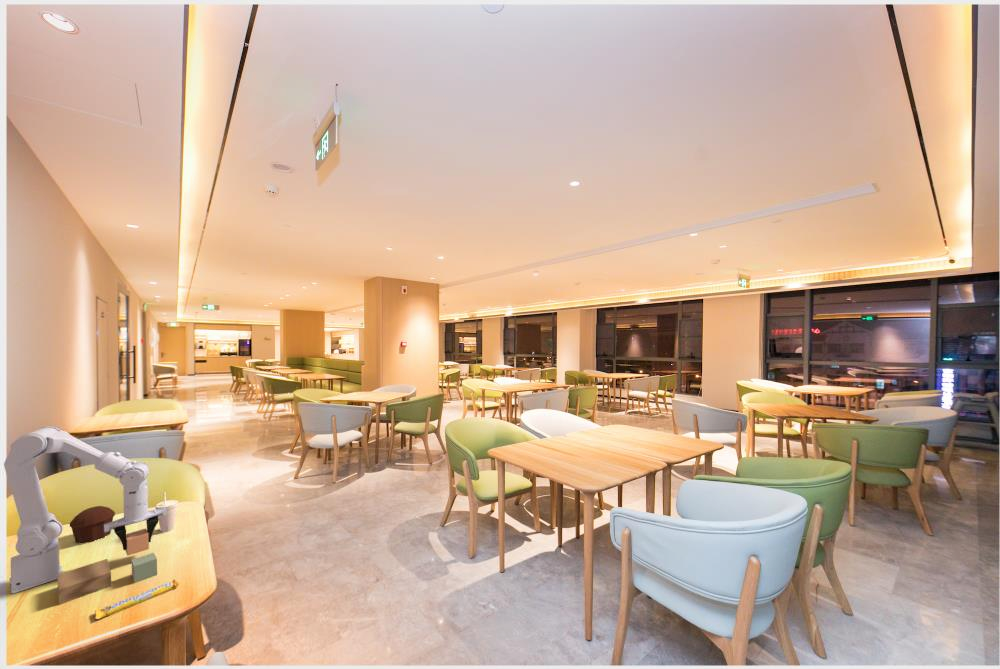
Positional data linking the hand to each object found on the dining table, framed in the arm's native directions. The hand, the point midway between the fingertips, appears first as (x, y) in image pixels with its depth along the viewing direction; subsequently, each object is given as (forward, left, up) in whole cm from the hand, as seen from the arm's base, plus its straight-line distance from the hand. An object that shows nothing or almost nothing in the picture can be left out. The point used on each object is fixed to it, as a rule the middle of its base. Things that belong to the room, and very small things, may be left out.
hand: (136, 545), depth 126 cm
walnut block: (-12, -7, -5) cm, 15 cm away
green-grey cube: (0, -13, -5) cm, 14 cm away
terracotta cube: (0, 0, -2) cm, 2 cm away
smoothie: (+10, +16, -5) cm, 19 cm away
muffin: (-8, +30, -5) cm, 31 cm away
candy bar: (-3, -26, -5) cm, 27 cm away
